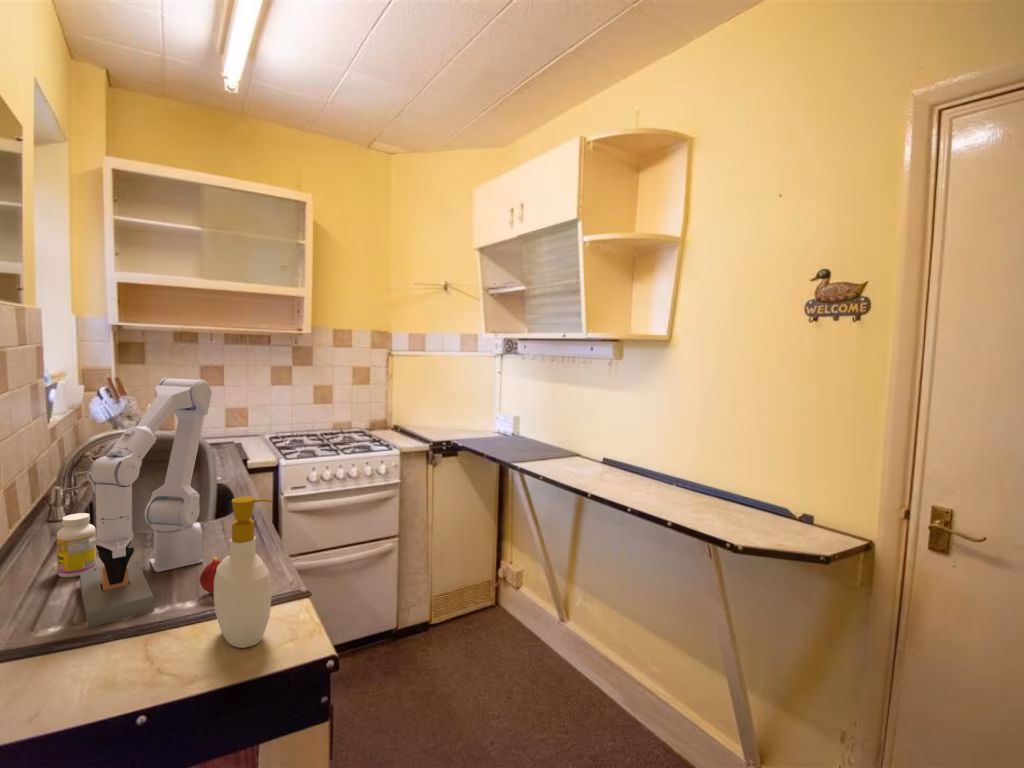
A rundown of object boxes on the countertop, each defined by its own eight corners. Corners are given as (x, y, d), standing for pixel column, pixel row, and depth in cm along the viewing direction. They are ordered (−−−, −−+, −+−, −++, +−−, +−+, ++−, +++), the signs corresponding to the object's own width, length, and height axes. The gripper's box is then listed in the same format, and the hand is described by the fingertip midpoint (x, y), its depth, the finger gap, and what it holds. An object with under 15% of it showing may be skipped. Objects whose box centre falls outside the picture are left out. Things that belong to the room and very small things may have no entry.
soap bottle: (286, 643, 92) (288, 502, 90) (233, 664, 86) (234, 513, 84) (254, 612, 102) (255, 484, 100) (204, 629, 95) (204, 493, 93)
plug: (126, 590, 107) (126, 562, 107) (128, 595, 105) (128, 567, 104) (102, 595, 104) (101, 567, 104) (103, 601, 102) (103, 572, 102)
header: (137, 574, 115) (137, 561, 115) (153, 610, 101) (153, 595, 101) (80, 586, 108) (79, 573, 108) (87, 628, 94) (87, 612, 94)
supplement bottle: (58, 569, 115) (57, 514, 114) (96, 563, 120) (95, 509, 119) (56, 581, 110) (55, 523, 109) (96, 573, 114) (95, 518, 113)
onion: (237, 591, 110) (237, 555, 109) (212, 603, 105) (212, 565, 104) (219, 585, 112) (219, 549, 112) (193, 596, 107) (193, 559, 106)
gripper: (86, 509, 106) (86, 572, 107) (92, 529, 95) (93, 599, 96) (128, 503, 111) (128, 563, 112) (138, 522, 100) (139, 589, 101)
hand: (115, 579), depth 104 cm, fingers closed on plug, 3 cm apart
